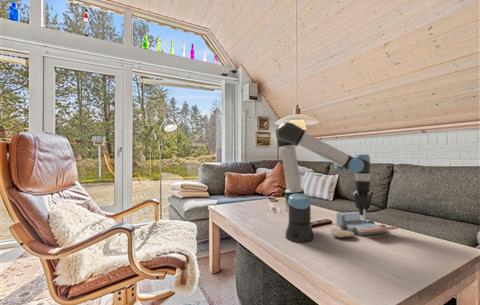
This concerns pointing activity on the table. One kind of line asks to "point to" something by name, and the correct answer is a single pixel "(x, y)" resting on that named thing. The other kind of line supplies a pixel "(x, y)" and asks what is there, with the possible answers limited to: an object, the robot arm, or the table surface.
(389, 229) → the tailgate
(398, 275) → the table surface
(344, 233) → the seashell
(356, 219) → the truck bed
